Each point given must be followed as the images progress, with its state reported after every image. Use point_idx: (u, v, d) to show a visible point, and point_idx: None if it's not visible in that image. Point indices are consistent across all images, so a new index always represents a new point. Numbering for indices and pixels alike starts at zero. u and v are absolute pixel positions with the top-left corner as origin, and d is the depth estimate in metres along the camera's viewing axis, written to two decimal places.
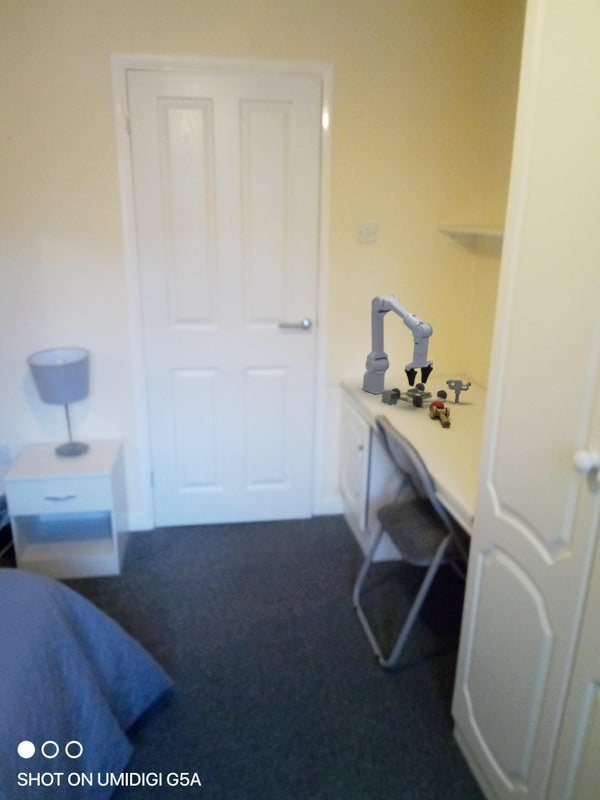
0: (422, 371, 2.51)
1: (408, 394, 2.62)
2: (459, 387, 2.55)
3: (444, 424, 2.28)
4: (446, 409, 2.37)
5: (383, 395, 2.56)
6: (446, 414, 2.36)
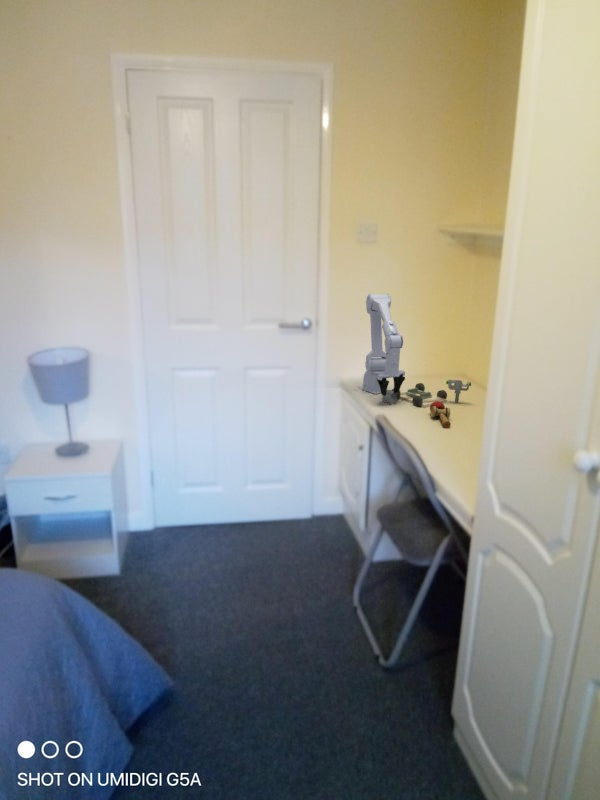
0: (395, 380, 2.57)
1: (408, 394, 2.62)
2: (459, 387, 2.55)
3: (444, 424, 2.28)
4: (446, 409, 2.36)
5: (383, 395, 2.56)
6: (446, 414, 2.36)
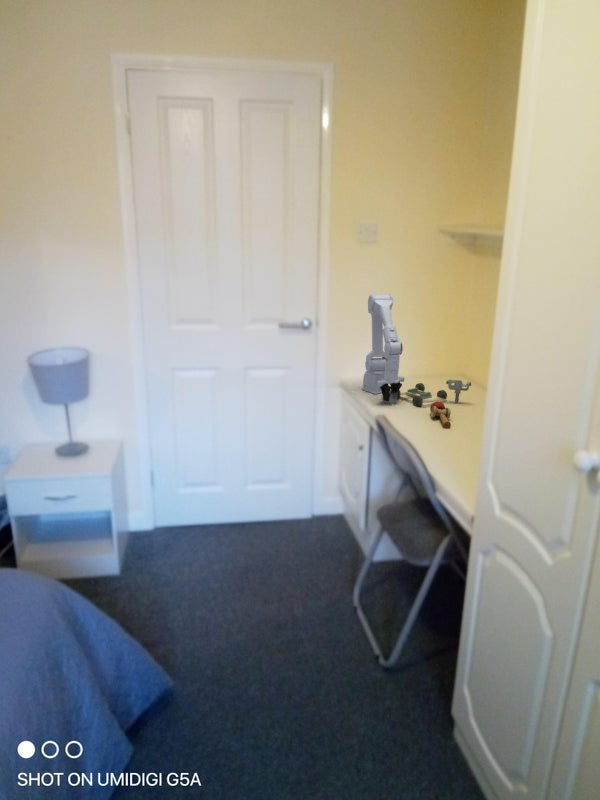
0: (392, 387, 2.57)
1: (408, 394, 2.62)
2: (459, 387, 2.55)
3: (444, 424, 2.28)
4: (447, 410, 2.36)
5: None
6: (446, 415, 2.36)
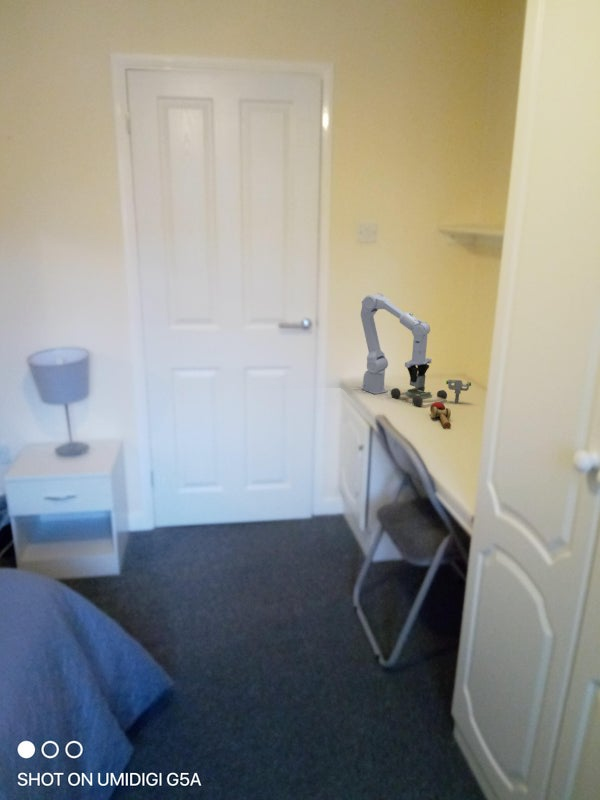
0: (419, 369, 2.60)
1: (408, 394, 2.62)
2: (459, 387, 2.55)
3: (444, 425, 2.27)
4: (447, 410, 2.36)
5: None
6: (447, 415, 2.35)
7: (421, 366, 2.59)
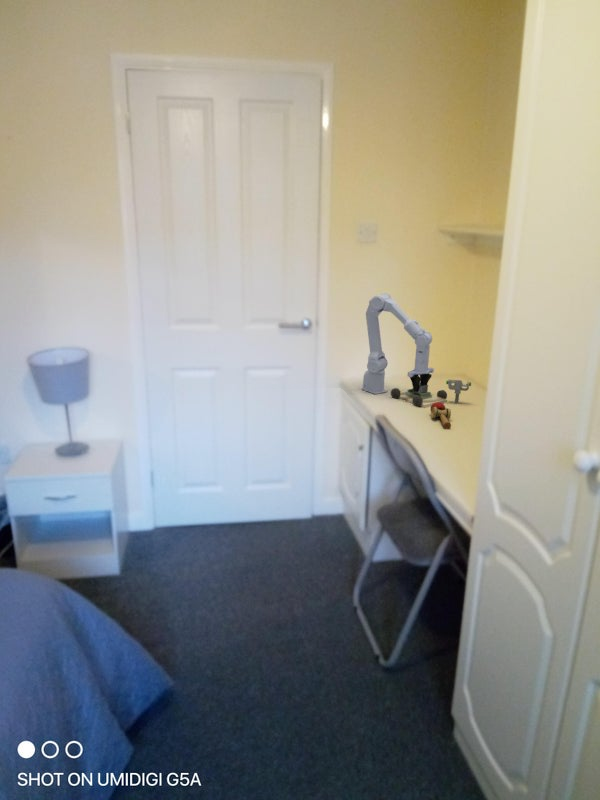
0: (421, 378, 2.62)
1: (408, 394, 2.62)
2: (459, 387, 2.55)
3: (444, 425, 2.27)
4: (447, 410, 2.36)
5: None
6: (447, 415, 2.35)
7: (423, 375, 2.61)
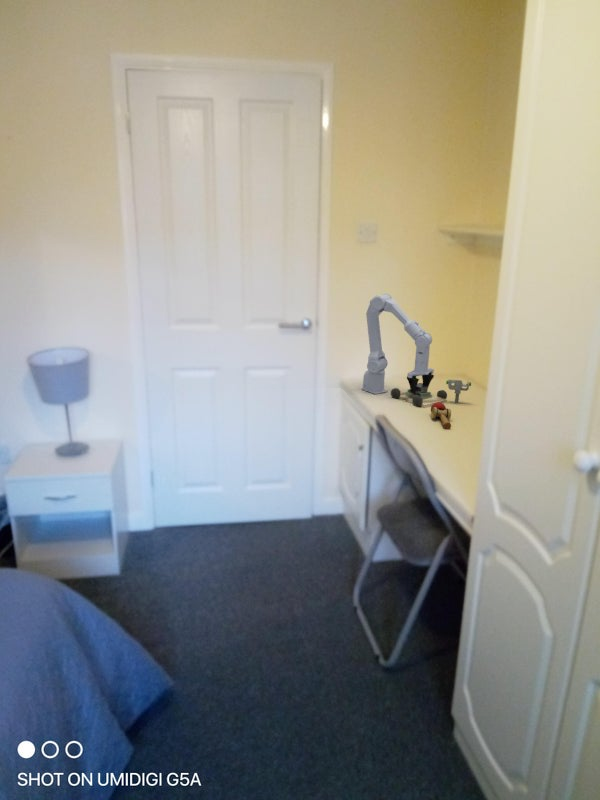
0: (423, 378, 2.63)
1: (408, 394, 2.62)
2: (459, 387, 2.55)
3: (444, 425, 2.27)
4: (447, 410, 2.35)
5: None
6: (447, 415, 2.35)
7: (426, 376, 2.62)
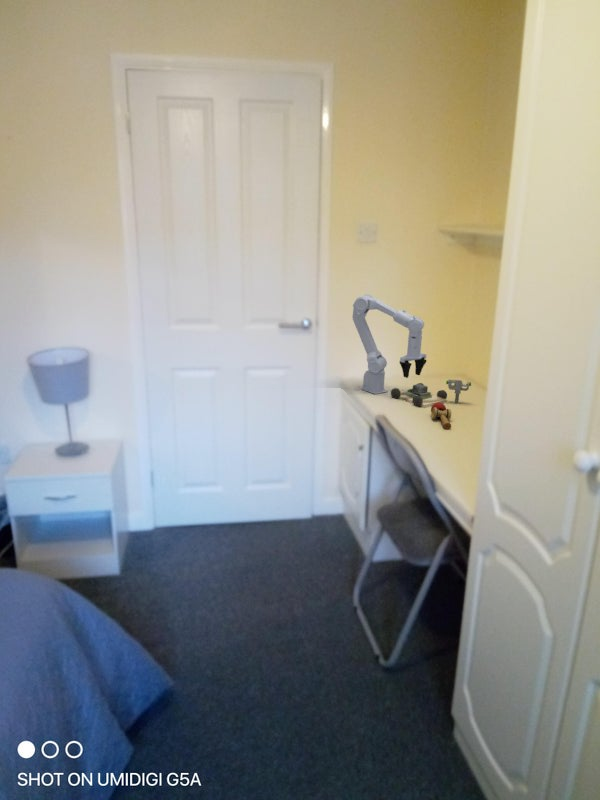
0: (416, 363, 2.65)
1: (408, 394, 2.62)
2: (459, 387, 2.55)
3: (445, 426, 2.27)
4: (447, 411, 2.35)
5: (413, 389, 2.61)
6: (447, 416, 2.34)
7: (418, 361, 2.64)
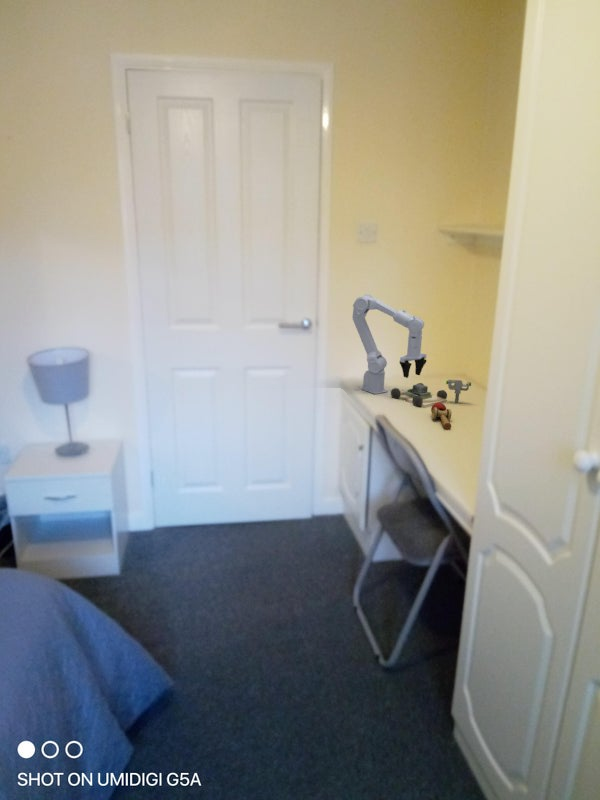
0: (416, 363, 2.65)
1: (408, 394, 2.62)
2: (459, 387, 2.55)
3: (445, 426, 2.26)
4: (447, 411, 2.35)
5: (413, 389, 2.61)
6: (447, 416, 2.34)
7: (418, 361, 2.64)
